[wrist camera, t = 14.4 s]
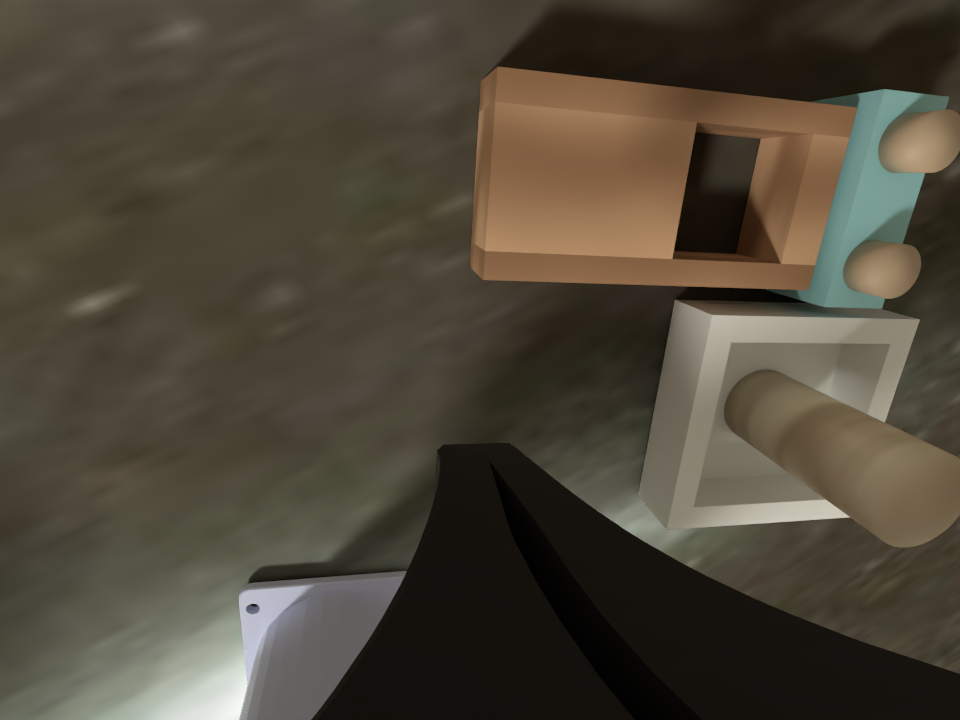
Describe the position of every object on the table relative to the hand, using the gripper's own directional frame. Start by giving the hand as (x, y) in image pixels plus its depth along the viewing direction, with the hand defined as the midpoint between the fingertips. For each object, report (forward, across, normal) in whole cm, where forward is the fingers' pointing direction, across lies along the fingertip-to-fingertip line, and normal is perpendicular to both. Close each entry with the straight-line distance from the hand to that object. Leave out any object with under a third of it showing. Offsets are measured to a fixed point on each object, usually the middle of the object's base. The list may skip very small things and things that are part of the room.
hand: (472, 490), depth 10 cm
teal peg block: (+11, -15, -5) cm, 19 cm away
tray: (+10, -14, +3) cm, 18 cm away
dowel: (+10, -14, +3) cm, 18 cm away
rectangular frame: (+11, -8, -5) cm, 14 cm away
